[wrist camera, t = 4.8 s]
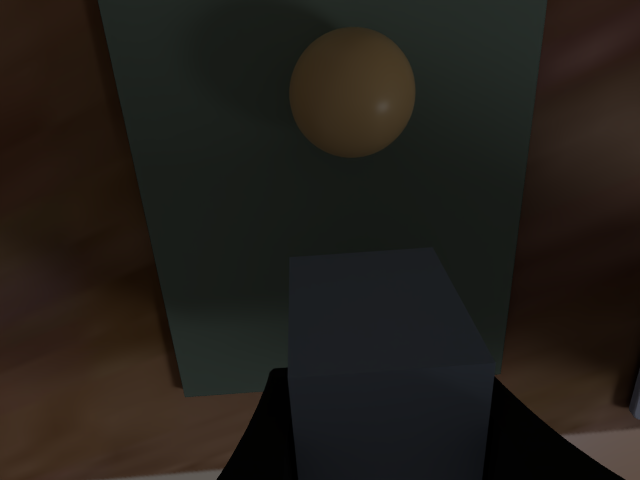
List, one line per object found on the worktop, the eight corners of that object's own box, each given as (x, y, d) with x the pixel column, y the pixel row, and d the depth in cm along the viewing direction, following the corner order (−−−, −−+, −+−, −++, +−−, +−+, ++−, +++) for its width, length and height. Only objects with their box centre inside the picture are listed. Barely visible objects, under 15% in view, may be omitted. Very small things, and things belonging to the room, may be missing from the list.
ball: (403, 19, 15) (431, 27, 12) (401, 136, 17) (425, 169, 14) (285, 26, 15) (282, 36, 12) (294, 143, 17) (294, 178, 14)
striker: (432, 247, 14) (495, 363, 10) (425, 409, 17) (472, 560, 13) (289, 257, 14) (287, 378, 10) (304, 418, 17) (307, 573, 12)
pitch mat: (620, -659, 10) (632, -682, 10) (496, 367, 22) (500, 374, 21) (-35, -632, 10) (-46, -655, 10) (186, 390, 21) (184, 397, 21)
